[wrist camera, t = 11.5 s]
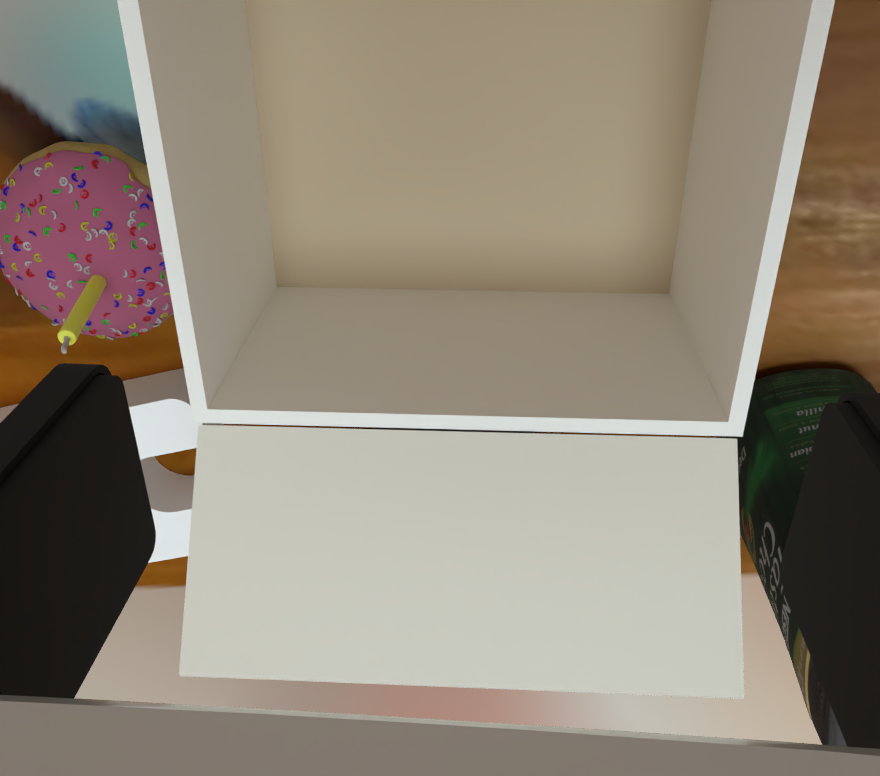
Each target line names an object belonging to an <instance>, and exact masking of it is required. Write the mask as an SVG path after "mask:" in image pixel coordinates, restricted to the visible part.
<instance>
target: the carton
mask: <svg viewBox="0 0 880 776" xmlns="http://www.w3.org/2000/svg"><path fill="white" fill-rule="evenodd" d="M117 2H118V8H119V13H120V19H121V24H122V30H123V35H124V41H125V46H126V51H127V57H128V63H129V68H130V74H131V79H132V85H133V90H134V96H135V102H136V107H137V113H138V118H139V124H140V129H141V135H142V140H143V146H144V151H145V157H146V162H147V168H148V173H149V179H150V184H151V190H152V195H153V201H154V206H155V212H156V218H157V223H158V229H159V234H160V240H161V245H162V251H163V256H164V262H165V267H166V273H167V278H168V284H169V289H170V295H171V300H172V306H173V311H174V317H175V322H176V328H177V334H178V339H179V345H180V350H181V356H182V361H183V367H184V372H185V378H186V383H187V389H188V394H189V400H190V405H191V411H192V416H193V422H194V423H224V424H263V425H303V426H342V427H382V428H421V429H461V430H501V431H540V432H580V433H619V434H659V435H698V436H738V437H743V432H744V427H745V422H746V418H747V413H748V408H749V404H750V399H751V394H752V389H753V385H754V380H755V375H756V371H757V366H758V361H759V356H760V352H761V347H762V342H763V338H764V333H765V328H766V323H767V319H768V314H769V309H770V305H771V300H772V295H773V291H774V286H775V281H776V276H777V272H778V267H779V262H780V258H781V253H782V248H783V243H784V239H785V234H786V229H787V225H788V220H789V215H790V210H791V206H792V201H793V196H794V192H795V187H796V182H797V177H798V173H799V168H800V163H801V159H802V154H803V149H804V144H805V140H806V135H807V130H808V126H809V121H810V116H811V111H812V107H813V102H814V97H815V93H816V88H817V83H818V78H819V74H820V69H821V64H822V60H823V55H824V50H825V45H826V41H827V36H828V31H829V27H830V22H831V17H832V12H833V8H834V3H835V0H117Z"/></svg>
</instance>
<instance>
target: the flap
mask: <svg viewBox="0 0 880 776" xmlns="http://www.w3.org/2000/svg"><path fill="white" fill-rule="evenodd" d="M741 598H742V597H741V560H740V523H739V486H738V449H737V439H732V438H692V437H653V436H614V435H574V434H535V433H496V432H457V431H417V430H378V429H339V428H299V427H260V426H221V425H198V437H197V450H196V463H195V476H194V489H193V502H192V515H191V527H190V540H189V553H188V566H187V579H186V593H185V605H184V618H183V630H182V643H181V656H180V670H179V676H195V677H219V678H244V679H245V678H246V679H268V680H294V681H318V682H343V683H367V684H392V685H417V686H441V687H466V688H490V689H515V690H540V691H564V692H565V691H566V692H590V693H615V694H639V695H663V696H688V697H713V698H737V699H744V670H743V634H742V599H741Z"/></svg>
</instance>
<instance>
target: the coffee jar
mask: <svg viewBox="0 0 880 776" xmlns="http://www.w3.org/2000/svg"><path fill="white" fill-rule="evenodd" d="M845 392H860V393H877V392H876V390H875V389H874V388H873V386H872V385H871V384H870V383H869V382H868V381H867V380H866V379H865V378H863V377H862V376H860V375H858V374H856V373H853V372H850V371H847V370H842V369H833V368H814V369H799V370H791V371H785V372H780V373H776V374H772V375H769V376H765V377H762V378H760V379H757V380H756V381H754V385H753V389H752V394H751V399H750V404H749V408H748V413H747V418H746V422H745V427H744V432H743V437H738V436H722V438H732V439H737V449H738V486H739V523H740V533H741V536H742V538H743V540H744V542H745V544H746V547H747V549H748V551H749V553H750V556H751V558H752V560H753V563H754V565H755V567H756V570H757V572H758V574H759V577H760V579H761V582H762V584H763V586H764V589H765V592H766V594H767V596H768V599H769V601H770V604H771V606H772V609H773V611H774V614H775V617H776V619H777V622H778V624H779V626H780V629H781V632H782V634H783V637H784V640H785V643H786V646H787V649H788V651H789V654H790V657H791V660H792V663H793V667H794V670H795V673H796V676H797V679H798V682H799V685H800V688H801V691H802V694H803V697H804V701H805V704H806V707H807V710H808V713H809V716H810V718H811V720H812V721H813V724H814V726H815V729H816V731H817V733H818V736H819V738H820V740H821V743H822V745H830V746H843V747H847V745H846V742H845V740H844V737H843V735H842V732H841V730H840V727H839V725H838V722H837V720H836V718H835V715H834V713H833V710H832V708H831V705H830V703H829V700H828V698H827V695H826V693H825V690H824V688H823V685H822V683H821V680H820V678H819V675H818V673H817V671H816V668H815V666H814V663H813V661H812V658H811V656H810V653H809V651H808V648H807V646H806V643H805V641H804V638H803V636H802V633H801V631H800V628H799V626H798V624H797V621H796V619H795V616H794V614H793V611H792V609H791V606H790V604H789V601H788V599H787V596H786V594H785V591H784V589H783V586H782V581H781V560H782V556H783V552H784V549H785V545H786V541H787V538H788V534H789V530H790V527H791V523H792V520H793V516H794V512H795V509H796V505H797V501H798V498H799V494H800V491H801V487H802V483H803V480H804V476H805V472H806V469H807V465H808V462H809V458H810V454H811V451H812V447H813V443H814V440H815V436H816V433H817V429H818V425H819V422H820V418H821V414H822V412H823V409H824V407H825V406H826V404H828V403H829V402H833V403H837V402H838V399H839V398H840V397H841V395H842V394H844V393H845Z"/></svg>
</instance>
